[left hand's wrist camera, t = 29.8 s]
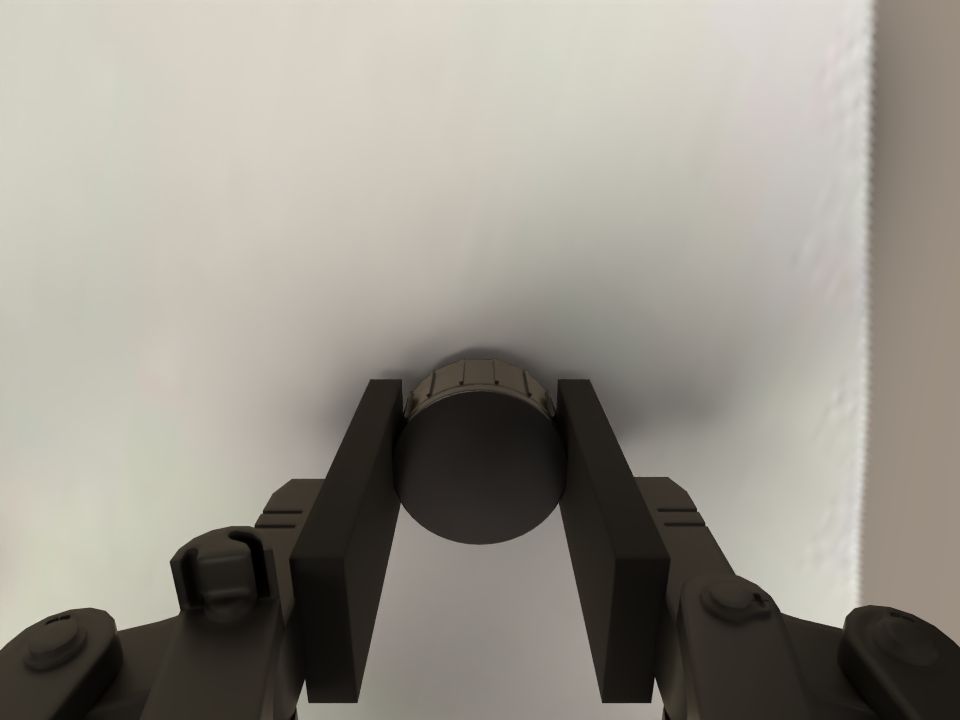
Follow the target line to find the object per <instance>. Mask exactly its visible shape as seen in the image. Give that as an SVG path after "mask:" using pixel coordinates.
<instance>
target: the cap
mask: <svg viewBox="0 0 960 720" xmlns="http://www.w3.org/2000/svg"><path fill="white" fill-rule="evenodd" d="M567 461H568V455H567V449H566V446H565V441H564V438H563V434H562V431H561V427H560V424H559V420H558V417H557V414H556V411H555V408H554V405H553V403H552V399H551V396H550V392H549V391H545V389H544V388H543V387H542V386H541V385H540V384H539V383H538V382H537V381H536V380H535V379H534V378H533V377H532V376H530V375H529V374H528V371H527V370H524V371H523V370H521V369H519V368H517V367H515V366H513V365H510V364H507V363H504V362H501V361H498V360H497V359H495V358H494V360H489V359H471V360H464V359H461V361H459V362H455V363H452V364H450V365H447V366H445V367H443V368H441V369H438V370H437V371H434V370H433V371H431V374H430V375H429V376H428V377H427V378H426V379H425V380H423V381H422V382H421V383H420V384H419V385H418V387H417V388H416V389H415V390H414V392H410V393H409V396H408V400H407V404H406V406H405V409H404V413H403V416H402V419H401V423H400V427H399V430H398V434H397V437H396V441H395V445H394V448H393V452H392V468H393V484H394V488H395V491H396V494H397V496H398V498H399V500H400V502H401V503H402V505H403V506H404V508H405V509H406V511H407V512H408V513H409V514H410V515H411V516H412V518H414V519H415V520H416V521H417V522H418V523H419V524H420V525H422V526H423V527H424V528H426V529H427V530H429V531H431V532H432V533H434V534H436V535H438V536H441V537H443V538H446V539H448V540H452V541H455V542H459V543H466V544H477V545H483V544H494V543H500V542H504V541H508V540H511V539H514V538H517V537H519V536H521V535H524V534H525V533H527V532H529V531H531V530H532V529H534V528H535V527H537V526H538V525H539V524H541V523H542V522H543V521H544V520H545V519H546V518H547V517H548V516H549V515H550V514H551V512H552V511H553V510H554V509H555V507H556V506H557V504H558V503H559V501H560V499H561V497H562V495H563V493H564V490H565V487H566V479H567Z"/></svg>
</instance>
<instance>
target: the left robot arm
mask: <svg viewBox="0 0 960 720" xmlns="http://www.w3.org/2000/svg"><path fill="white" fill-rule="evenodd" d="M556 414H557V417H558V420H559V424H560V427H561V431H562V434H563V438H564V441H565V446H566V449H567V455H568V461H567V479H566V487H565V490H564V493H563V495H562V497H561V499H560V501H559V506H560V510H561V515H562V520H563V524H564V529H565V533H566V538H567V543H568V547H569V552H570V557H571V561H572V566H573V570H574V575H575V580H576V584H577V589H578V593H579V598H580V603H581V607H582V612H583V616H584V621H585V626H586V630H587V635H588V640H589V644H590V649H591V653H592V658H593V663H594V667H595V672H596V676H597V681H598V686H599V690H600V695H601V699H602V703H651V700H652V693H653V686H654V679H655V678H656V682H657V685H658V688H659V691H660V694H661V697H662V700H663V703H664V708H663V715H662V720H960V647H959V646H958V645H957V644H956V643H955V642H954V641H953V640H951V639H950V638H949V637H948V636H946V635H945V634H944V633H943V632H941V631H940V630H939V629H938V628H936V627H935V626H934V625H932V624H930V623H928V622H926V621H924V620H922V619H920V618H918V617H916V616H915V615H913V614H910V613H907V612H904V611H900V610H897V609H894V608H891V607H884V606H874V605H868V606H863V607H859V608H855V609H853V610H852V611H851V612H850V613H849V614H848V615H847V616H846V619H845V622H844V626H843V629H841V628H837V627H832V626H828V625H824V624H819V623H815V622H811V621H807V620H802V619H799V618H795V617H792V616H789V615H786V614H783V613H781V612H780V610H779V608H778V607H777V605H776V603H775V602H774V600H773V599H772V597H771V596H770V595H769V594H768V593H766V592H765V591H764V590H763V589H761V588H760V587H759V586H758V585H757V584H754V583H752V582H750V581H748V580H746V579H744V578H742V577H740V576H737V575H736V574H735V573H734V571H733V569H732V568H731V566H730V564H729V562H728V561H727V559H726V557H725V556H724V554H723V552H722V551H721V549H720V547H719V545H718V544H717V542H716V540H715V539H714V537H713V535H712V534H711V532H710V530H709V528H708V527H706V526H705V522H704V520H703V518H702V517H701V515H700V513H699V512H697V508H696V506H695V505H694V503H693V501H692V500H691V498H690V496H689V494H688V493H687V491H685V490H684V489H683V488H681V487H680V486H679V485H677V484H676V483H675V482H674V481H672V480H671V479H670V478H668V477H633V474H632V472H631V470H630V468H629V466H628V463H627V461H626V459H625V457H624V455H623V452H622V450H621V448H620V446H619V444H618V441H617V439H616V437H615V435H614V433H613V430H612V428H611V426H610V424H609V422H608V419H607V417H606V415H605V413H604V411H603V409H602V406H601V404H600V402H599V400H598V398H597V395H596V393H595V391H594V389H593V387H592V384H591V382H590V380H577V379H575V380H574V379H558V392H557V412H556ZM402 416H403V399H402V379H370V381H369V384H368V386H367V388H366V390H365V392H364V395H363V397H362V399H361V401H360V403H359V406H358V408H357V410H356V412H355V414H354V416H353V419H352V421H351V423H350V425H349V427H348V430H347V432H346V434H345V436H344V438H343V441H342V443H341V445H340V447H339V449H338V452H337V454H336V456H335V458H334V460H333V463H332V465H331V467H330V469H329V471H328V474H327V476H326V478H325V479H291V480H290V481H289V482H287V483H286V484H285V485H284V486H282V487H281V488H280V489H278V490H277V491H276V492H274V493H273V494H272V496H271V498H270V500H269V501H268V503H267V505H266V506H265V508H264V510H263V514H261V515H260V517H259V518H258V520H257V522H256V524H255V528H253V527H250V526H230V527H225V528H221V529H216V530H212V531H210V532H207V533H205V534H203V535H200V536H198V537H196V538H194V539H192V540H191V541H190V542H188V543H187V544H185V545H184V546H183V547H181V548H180V549H179V550H178V551H177V552H176V554H175V555H174V557H173V558H172V559H171V561H170V565H171V570H172V574H173V579H174V583H175V587H176V592H177V596H178V601H179V605H180V610H181V611H180V613H179V615H178V616H175V617H172V618H169V619H166V620H163V621H159V622H155V623H151V624H147V625H142V626H138V627H134V628H130V629H125V630H121V631H117V628H116V624H115V620H114V619H113V618H112V617H111V616H110V615H109V614H108V613H107V612H106V611H104V610H99V609H94V608H82V609H72V610H68V611H65V612H62V613H59V614H55V615H52V616H49V617H47V618H45V619H43V620H41V621H39V622H37V623H36V624H34V625H32V626H30V627H28V628H26V629H25V630H24V631H22V632H21V633H20V634H19V635H17V636H16V637H15V638H14V639H12V640H11V641H10V642H9V643H7V644H6V645H5V646H4V647H3V648H2V649H1V650H0V720H298V715H297V708H296V705H297V702H298V699H299V696H300V693H301V689H302V686H303V683H304V680H305V681H306V688H307V696H308V703H357V702H358V698H359V693H360V689H361V684H362V679H363V675H364V670H365V666H366V661H367V656H368V652H369V647H370V643H371V638H372V633H373V629H374V624H375V619H376V615H377V610H378V606H379V601H380V596H381V592H382V587H383V583H384V578H385V573H386V569H387V564H388V560H389V555H390V550H391V546H392V541H393V537H394V532H395V527H396V523H397V518H398V513H399V509H400V504H401V502H400V500H399V498H398V496H397V494H396V491H395V488H394V484H393V468H392V452H393V448H394V445H395V441H396V437H397V434H398V430H399V427H400V423H401V419H402Z"/></svg>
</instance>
